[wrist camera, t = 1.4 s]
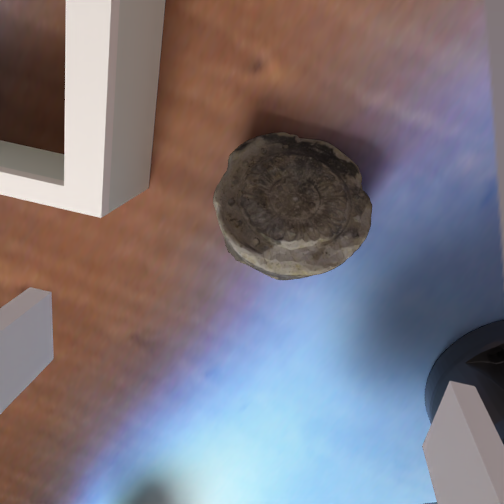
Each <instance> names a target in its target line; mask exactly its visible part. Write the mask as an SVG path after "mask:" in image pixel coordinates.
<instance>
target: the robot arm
mask: <svg viewBox="0 0 504 504" xmlns="http://www.w3.org/2000/svg"><path fill="white" fill-rule="evenodd" d="M52 360H53V328H52V297H51V292H49V291H44V290H40V289H35V288H31V287H30V288H28V289H27V290H25V291H24V292H23V293H21V294H20V295H18V296H17V297H16V298H14V299H13V300H11V301H10V302H9V303H7V304H6V305H4V306H3V307H1V308H0V414H1V413H2V412H3V411H4V410H5V409H6V408H7V407H8V406H9V405H10V403H11V402H12V401H13V400H14V399H15V398H16V397H17V396H18V395H19V394H20V393H21V392H22V391H23V390H24V389H25V388H26V387H27V386H28V385H29V384H30V383H31V382H32V381H33V380H34V379H35V378H36V377H37V376H38V375H39V373H40V372H41V371H42V370H43V369H44V368H45V367H46V366H47V365H48V364H49V363H50V362H51V361H52ZM425 406H426V410H427V414H428V417H429V420H430V423H431V427H430V429H429V431H428V434H427V436H426V439H425V441H424V443H423V446H422V447H423V451H424V454H425V458H426V462H427V466H428V470H429V473H430V477H431V481H432V485H433V488H434V492H435V496H436V500H437V502H435V503H425V504H504V320H502V321H498V322H494V323H491V324H488V325H485V326H483V327H481V328H478V329H476V330H474V331H472V332H470V333H468V334H467V335H465V336H463V337H462V338H460V339H459V340H457V341H456V342H455V343H454V344H452V345H451V346H450V347H449V348H448V349H447V350H446V351H445V352H444V353H443V354H442V355H441V356H440V358H439V359H438V360H437V362H436V363H435V365H434V366H433V368H432V370H431V372H430V374H429V377H428V380H427V383H426V388H425Z"/></svg>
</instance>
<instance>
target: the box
mask: <svg viewBox="0 0 504 504" xmlns="http://www.w3.org/2000/svg"><path fill="white" fill-rule="evenodd" d="M165 1H166V0H66V41H65V142H64V154H60V153H55V152H51V151H46V150H42V149H37V148H33V147H28V146H24V145H19V144H15V143H10V142H6V141H2V140H0V194H1V195H5V196H10V197H14V198H18V199H23V200H27V201H31V202H36V203H40V204H44V205H48V206H53V207H57V208H61V209H66V210H70V211H74V212H79V213H83V214H87V215H91V216H96V217H100V218H102V217H103V216H105V215H106V214H108V213H110V212H111V211H113V210H114V209H116V208H118V207H119V206H121V205H122V204H124V203H126V202H127V201H129V200H131V199H132V198H134V197H135V196H137V195H139V194H140V193H142V192H143V191H145V190H147V189H148V188H149V179H150V168H151V157H152V146H153V135H154V124H155V112H156V101H157V90H158V79H159V68H160V57H161V46H162V35H163V23H164V12H165Z"/></svg>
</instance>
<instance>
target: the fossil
mask: <svg viewBox="0 0 504 504" xmlns="http://www.w3.org/2000/svg"><path fill="white" fill-rule="evenodd" d="M361 182H362V176H361V173H360V171H359V168H358V166H357V165H356V164H355V163H354V162H353V161H352V160H351V159H350V158H348V157H347V156H346V155H345V154H343V153H342V152H341V151H340V150H339V149H337V148H336V147H334V146H333V145H331V144H330V143H328V142H325V141H322V140H315V139H303V138H299V137H298V136H297V135H289V134H287V133H285V132H279V133H270V134H266V135H261V136H257V137H255V138H253V139H250V140H248V141H246V142H245V143H243V144H241V145H240V146H239V147H238V148H237V149H236V150H234V151H233V152H232V153H231V154H230V157H229V159H228V168H227V171H226V173H225V174H224V175H223V177H222V179H221V181H220V183H219V184H218V185H217V187H216V190H215V192H214V197H213V204H214V207H215V210H216V214H217V219H218V222H219V225H220V228H221V231H222V233H223V236H224V239H225V244H226V247H227V250H228V252H229V253H231V254H232V255H233V256H234V258H235V259H236V260H237V261H240V262H241V263H244V264H246V265H249V266H250V267H252V268H254V269H256V270H258V271H260V272H262V273H264V274H266V275H268V276H270V277H271V278H275V279H278V280H291V279H299V278H304V277H309V276H312V275H317V274H322V273H325V272H328V271H330V270H332V269H334V268H336V267H338V266H339V265H341V264H342V263H344V262H345V261H346V259H348V258H349V257H350V256H352V255H353V253H354V252H355V251H356V250H357V249H359V247H360V246H361V244H362V243H363V241H364V240H365V239H366V237H367V235H368V232H369V229H370V226H371V213H372V204H371V202H370V198H369V197H368V195H367V194H366V193H365V192H364V191H363V190H362V185H361Z"/></svg>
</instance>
